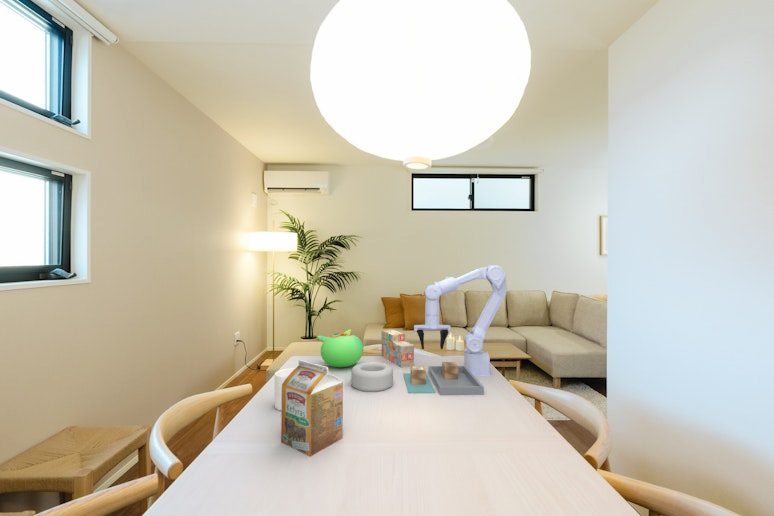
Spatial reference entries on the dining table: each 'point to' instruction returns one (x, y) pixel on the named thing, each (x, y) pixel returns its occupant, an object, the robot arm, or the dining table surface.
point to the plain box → (449, 370)
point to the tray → (456, 382)
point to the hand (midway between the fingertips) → (432, 348)
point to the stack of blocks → (397, 348)
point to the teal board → (418, 388)
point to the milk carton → (311, 409)
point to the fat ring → (372, 376)
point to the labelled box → (418, 375)
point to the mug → (280, 386)
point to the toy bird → (341, 349)
